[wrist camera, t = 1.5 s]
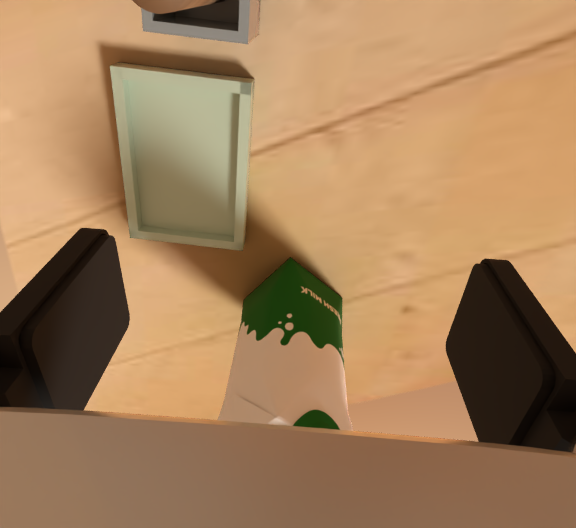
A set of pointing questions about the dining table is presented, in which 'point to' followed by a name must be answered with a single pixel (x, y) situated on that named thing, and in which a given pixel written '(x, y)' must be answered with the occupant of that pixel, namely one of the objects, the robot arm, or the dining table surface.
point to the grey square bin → (209, 21)
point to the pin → (171, 5)
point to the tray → (184, 153)
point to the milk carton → (289, 355)
